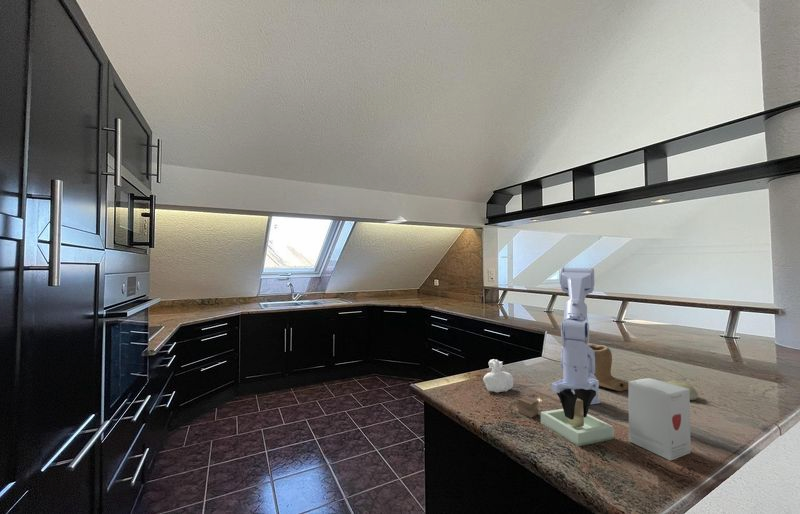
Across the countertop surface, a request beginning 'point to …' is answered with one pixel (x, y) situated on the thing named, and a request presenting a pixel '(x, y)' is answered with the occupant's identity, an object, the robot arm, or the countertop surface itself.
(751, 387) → the countertop surface
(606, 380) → the brown boot
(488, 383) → the bust
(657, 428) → the supplement box
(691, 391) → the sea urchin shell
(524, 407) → the walnut cube
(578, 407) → the beech cylinder
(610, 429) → the tray
